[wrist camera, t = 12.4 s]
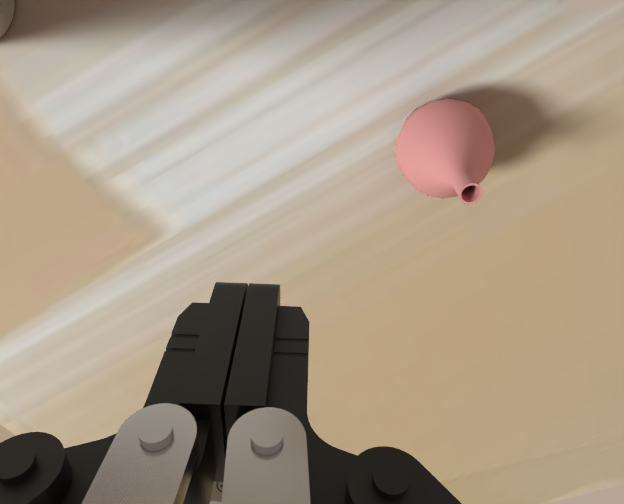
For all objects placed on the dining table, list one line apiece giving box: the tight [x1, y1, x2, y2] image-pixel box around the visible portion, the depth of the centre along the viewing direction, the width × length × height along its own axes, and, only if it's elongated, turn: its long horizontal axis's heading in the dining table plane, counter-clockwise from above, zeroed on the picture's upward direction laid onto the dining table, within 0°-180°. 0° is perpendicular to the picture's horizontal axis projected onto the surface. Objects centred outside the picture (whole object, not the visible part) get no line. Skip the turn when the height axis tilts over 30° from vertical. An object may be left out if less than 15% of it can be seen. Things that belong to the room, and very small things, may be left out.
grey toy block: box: [210, 482, 223, 504], centre depth 68 cm, size 5×5×5 cm
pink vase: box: [395, 99, 495, 204], centre depth 37 cm, size 8×8×12 cm
